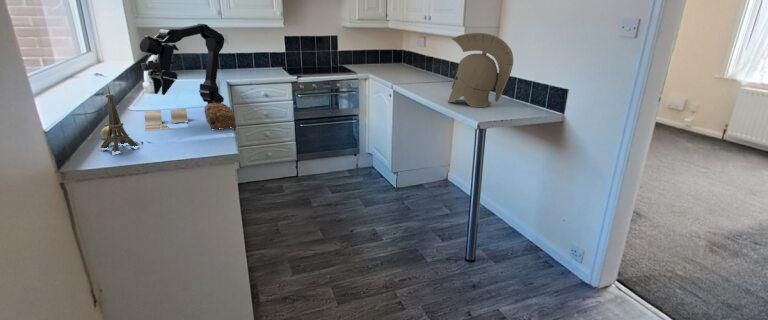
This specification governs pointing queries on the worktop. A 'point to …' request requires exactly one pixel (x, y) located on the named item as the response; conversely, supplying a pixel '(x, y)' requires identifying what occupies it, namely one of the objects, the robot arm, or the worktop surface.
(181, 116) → the oak plank
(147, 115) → the oak plank
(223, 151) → the worktop surface
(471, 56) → the helmet
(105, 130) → the onion
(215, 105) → the bread
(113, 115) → the eiffel tower
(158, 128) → the cardboard box
